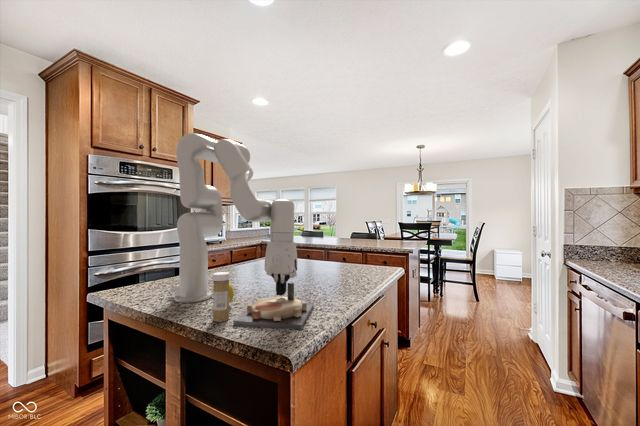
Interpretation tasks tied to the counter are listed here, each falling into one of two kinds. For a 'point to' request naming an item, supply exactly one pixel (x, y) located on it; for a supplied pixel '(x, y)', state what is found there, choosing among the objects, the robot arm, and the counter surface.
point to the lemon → (231, 293)
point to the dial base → (286, 323)
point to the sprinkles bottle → (221, 296)
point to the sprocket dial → (277, 306)
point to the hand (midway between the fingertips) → (281, 294)
